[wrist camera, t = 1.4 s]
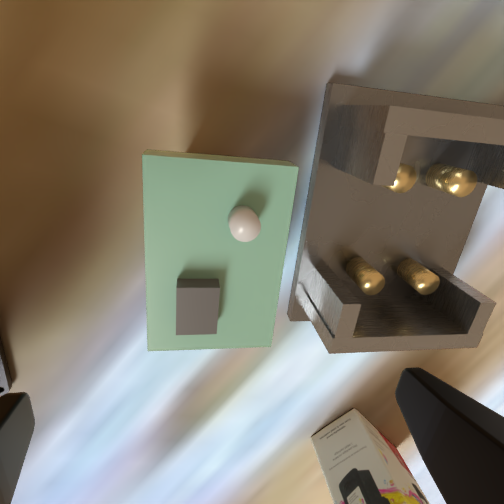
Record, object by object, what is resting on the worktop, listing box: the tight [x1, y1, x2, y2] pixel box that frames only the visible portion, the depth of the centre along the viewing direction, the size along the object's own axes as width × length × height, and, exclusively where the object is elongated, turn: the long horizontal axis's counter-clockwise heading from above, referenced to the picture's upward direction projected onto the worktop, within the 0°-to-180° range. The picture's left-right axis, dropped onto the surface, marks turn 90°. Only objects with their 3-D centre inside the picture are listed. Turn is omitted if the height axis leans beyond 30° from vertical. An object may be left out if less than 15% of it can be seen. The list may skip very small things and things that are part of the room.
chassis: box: [287, 83, 504, 354], centre depth 18 cm, size 14×11×5 cm
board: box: [142, 149, 299, 351], centre depth 15 cm, size 9×6×2 cm, turn 174°
